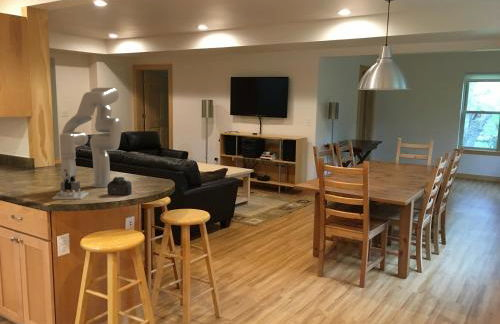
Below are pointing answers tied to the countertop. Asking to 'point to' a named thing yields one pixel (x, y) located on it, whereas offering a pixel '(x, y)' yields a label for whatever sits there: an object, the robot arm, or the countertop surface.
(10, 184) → the countertop surface
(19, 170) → the countertop surface
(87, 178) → the countertop surface
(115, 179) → the camera
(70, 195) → the grey pegged board
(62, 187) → the drive
